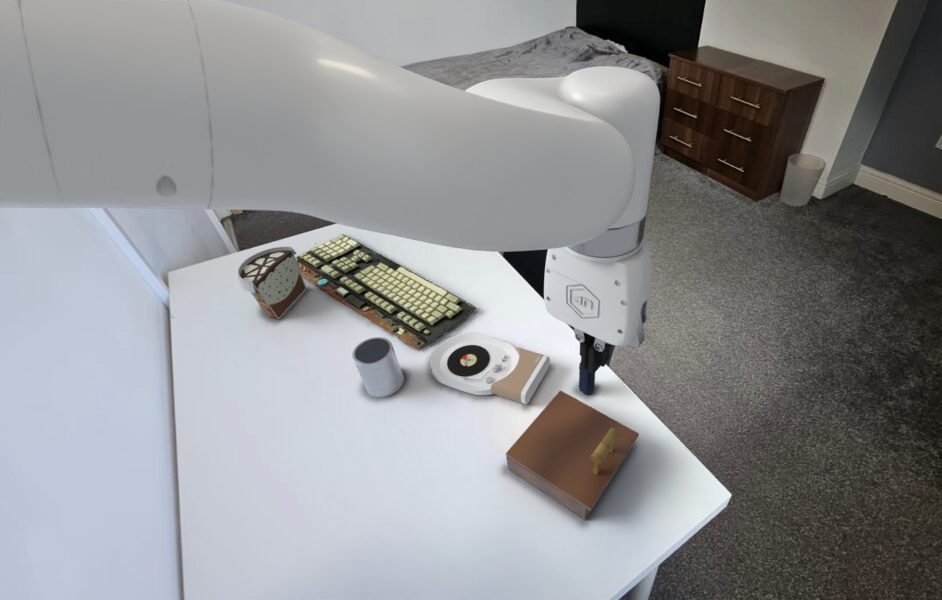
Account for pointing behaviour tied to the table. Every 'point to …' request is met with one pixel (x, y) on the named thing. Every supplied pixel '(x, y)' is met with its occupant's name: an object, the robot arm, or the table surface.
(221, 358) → the table surface
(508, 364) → the record player
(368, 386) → the steel cup
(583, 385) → the eraser
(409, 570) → the table surface
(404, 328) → the keyboard
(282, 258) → the food container
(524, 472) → the storage box
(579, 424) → the lid
